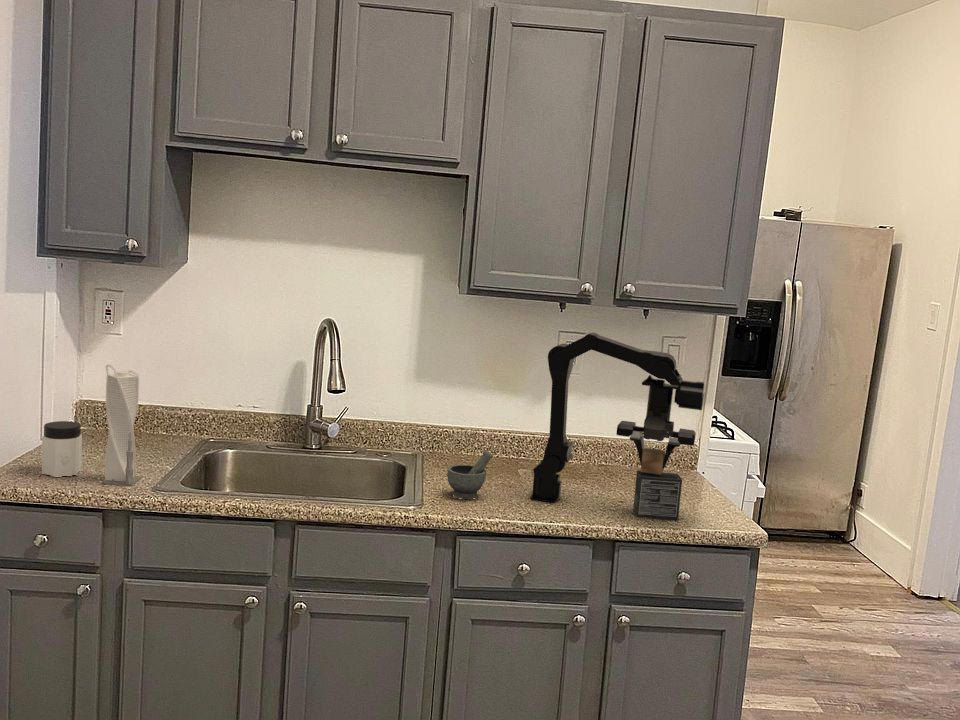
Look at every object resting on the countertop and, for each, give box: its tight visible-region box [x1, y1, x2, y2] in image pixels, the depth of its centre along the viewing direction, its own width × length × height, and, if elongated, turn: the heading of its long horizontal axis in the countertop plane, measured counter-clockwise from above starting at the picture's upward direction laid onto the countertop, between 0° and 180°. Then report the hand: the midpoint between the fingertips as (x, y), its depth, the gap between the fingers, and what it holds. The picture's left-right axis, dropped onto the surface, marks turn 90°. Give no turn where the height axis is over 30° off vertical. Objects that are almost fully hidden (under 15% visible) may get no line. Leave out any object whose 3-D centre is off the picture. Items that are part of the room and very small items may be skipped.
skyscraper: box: [101, 364, 143, 487], centre depth 223 cm, size 8×8×28 cm
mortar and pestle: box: [446, 449, 494, 500], centre depth 234 cm, size 11×9×12 cm
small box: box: [632, 470, 683, 521], centre depth 232 cm, size 11×6×10 cm, turn 89°
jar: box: [41, 420, 83, 476], centre depth 226 cm, size 9×8×12 cm
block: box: [640, 447, 666, 475], centre depth 230 cm, size 5×5×5 cm
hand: (652, 466), depth 231 cm, fingers closed on block, 5 cm apart
